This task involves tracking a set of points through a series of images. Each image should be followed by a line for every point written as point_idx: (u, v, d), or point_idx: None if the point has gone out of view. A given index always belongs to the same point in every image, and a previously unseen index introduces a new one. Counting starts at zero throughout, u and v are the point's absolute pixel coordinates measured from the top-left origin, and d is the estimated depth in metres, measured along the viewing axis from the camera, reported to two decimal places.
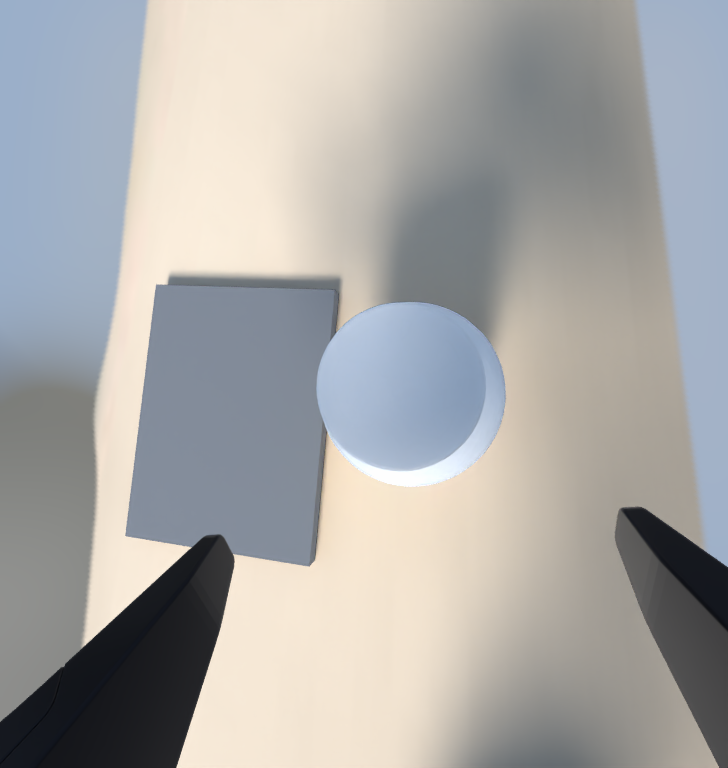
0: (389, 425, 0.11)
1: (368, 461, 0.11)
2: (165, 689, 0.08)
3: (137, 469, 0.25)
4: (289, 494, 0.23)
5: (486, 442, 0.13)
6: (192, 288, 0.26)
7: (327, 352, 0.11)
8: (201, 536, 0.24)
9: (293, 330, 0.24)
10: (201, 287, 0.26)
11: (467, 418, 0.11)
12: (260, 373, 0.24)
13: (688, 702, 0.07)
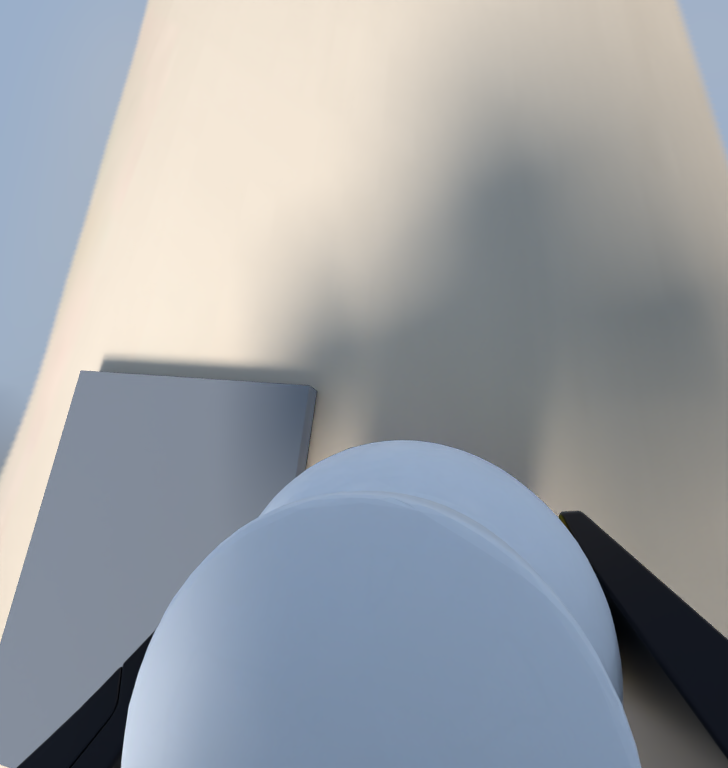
0: None
1: None
2: None
3: (7, 639, 0.17)
4: None
5: None
6: (124, 377, 0.19)
7: (166, 625, 0.04)
8: None
9: (249, 439, 0.17)
10: (136, 376, 0.19)
11: None
12: (197, 500, 0.17)
13: None
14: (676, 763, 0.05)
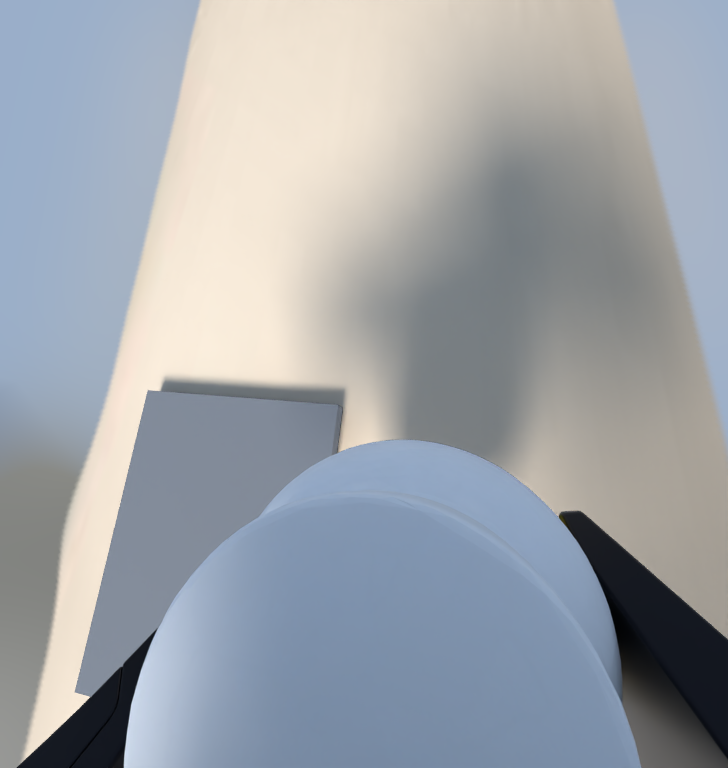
0: None
1: None
2: None
3: (100, 605, 0.22)
4: None
5: None
6: (185, 396, 0.24)
7: (168, 624, 0.04)
8: None
9: (290, 448, 0.22)
10: (195, 395, 0.24)
11: None
12: (250, 496, 0.22)
13: None
14: (676, 764, 0.05)
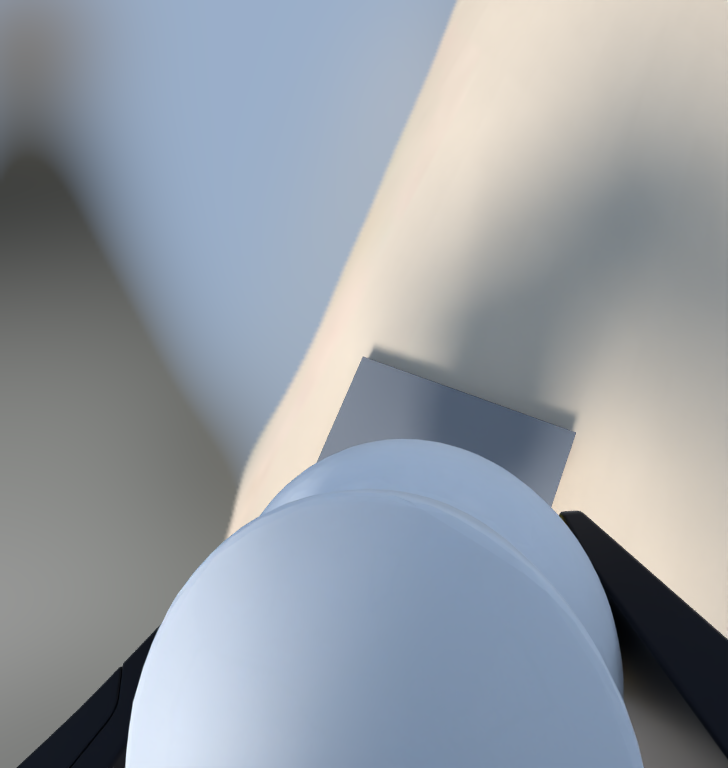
0: None
1: None
2: None
3: None
4: None
5: None
6: (403, 374, 0.23)
7: (169, 622, 0.04)
8: None
9: (513, 461, 0.21)
10: (414, 376, 0.23)
11: None
12: None
13: None
14: (676, 763, 0.05)
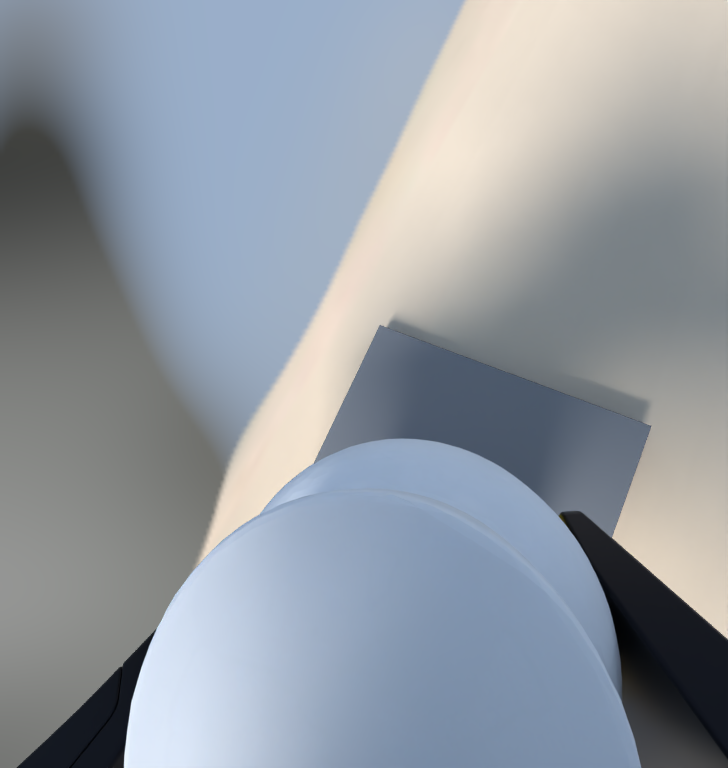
0: None
1: None
2: None
3: None
4: None
5: None
6: (429, 347, 0.19)
7: (168, 622, 0.04)
8: None
9: (568, 460, 0.16)
10: (443, 351, 0.18)
11: None
12: None
13: None
14: (676, 763, 0.05)
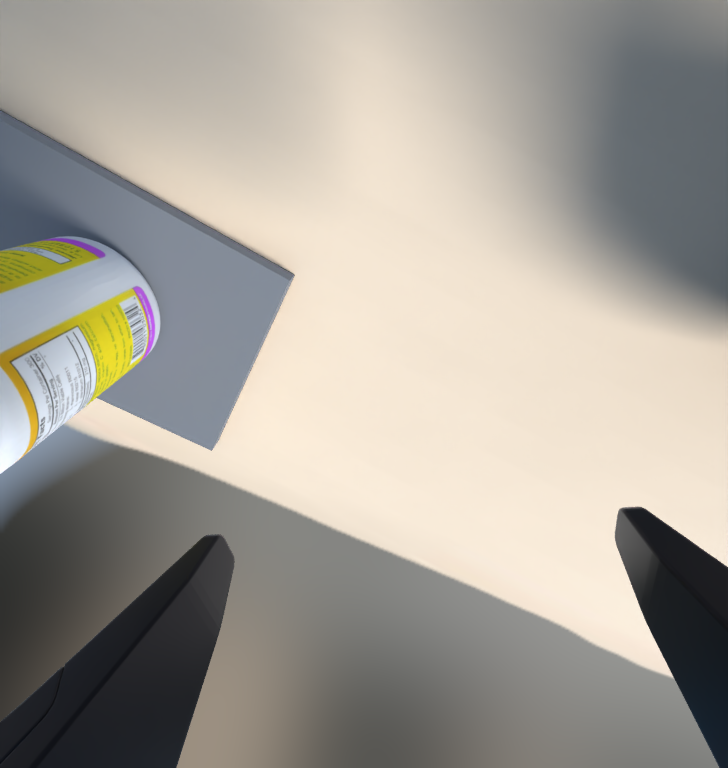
0: None
1: None
2: (165, 689, 0.08)
3: (147, 417, 0.24)
4: (202, 268, 0.19)
5: None
6: None
7: None
8: (228, 382, 0.22)
9: None
10: None
11: None
12: None
13: (688, 702, 0.07)
14: None
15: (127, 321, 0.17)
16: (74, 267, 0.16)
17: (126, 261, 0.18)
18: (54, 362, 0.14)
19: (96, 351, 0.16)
